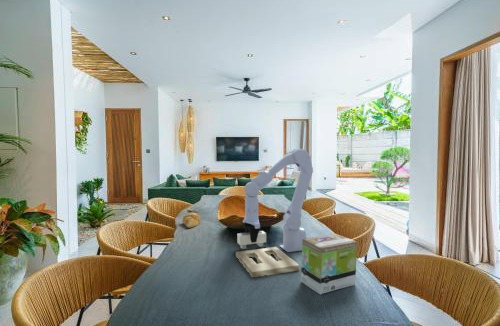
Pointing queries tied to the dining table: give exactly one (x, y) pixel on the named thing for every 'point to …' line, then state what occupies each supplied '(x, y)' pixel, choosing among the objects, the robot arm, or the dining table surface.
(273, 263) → the keyhole board
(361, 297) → the dining table surface
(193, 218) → the croissant
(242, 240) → the white and grey block
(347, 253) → the tea box
